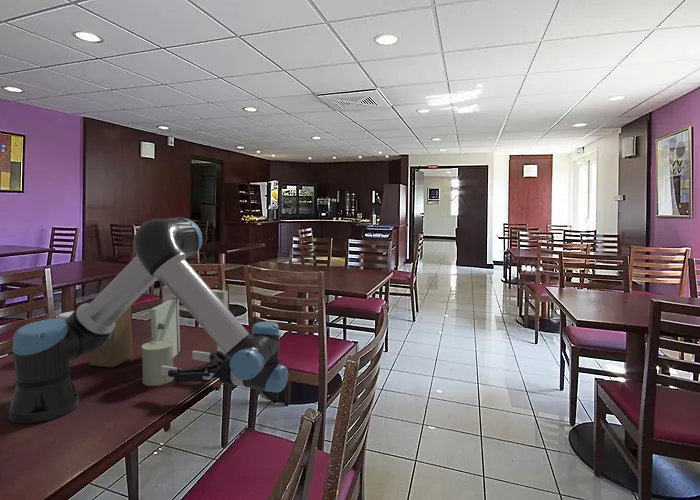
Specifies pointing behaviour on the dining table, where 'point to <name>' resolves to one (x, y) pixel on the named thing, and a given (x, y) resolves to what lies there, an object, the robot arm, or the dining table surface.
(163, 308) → the door
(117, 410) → the dining table surface
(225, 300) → the door frame
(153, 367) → the can
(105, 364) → the wooden block
